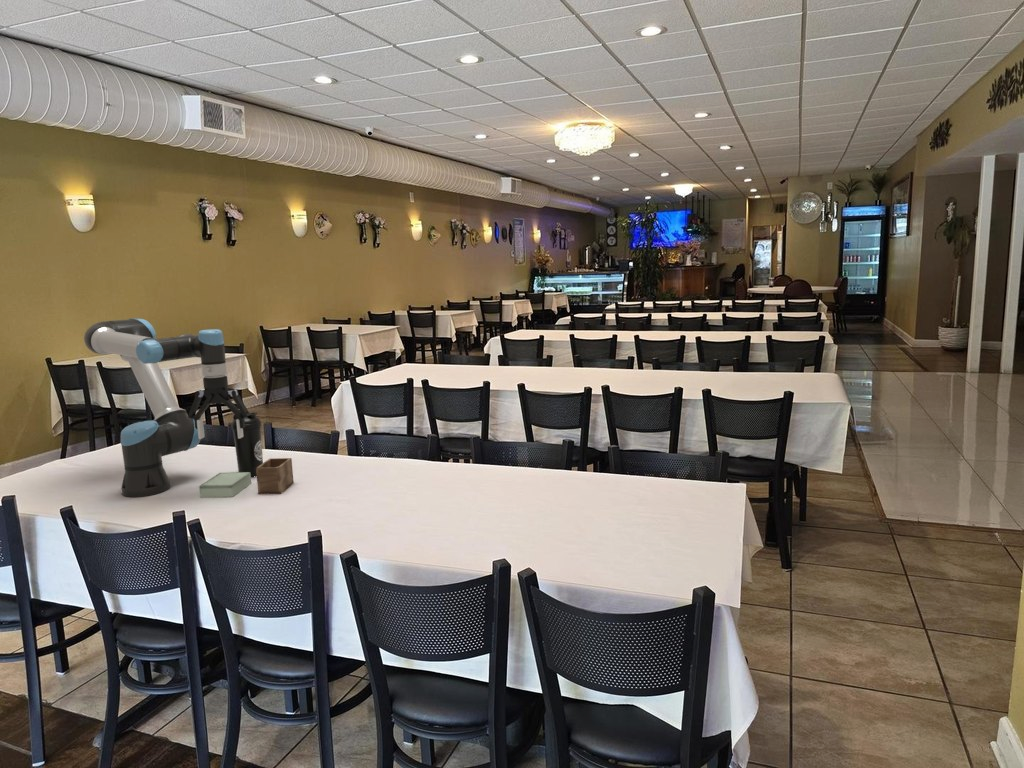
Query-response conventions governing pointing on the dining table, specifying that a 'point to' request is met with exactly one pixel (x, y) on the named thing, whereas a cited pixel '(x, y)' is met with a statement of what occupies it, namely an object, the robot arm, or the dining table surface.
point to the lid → (225, 484)
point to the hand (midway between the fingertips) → (221, 438)
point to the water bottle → (248, 444)
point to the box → (274, 476)
